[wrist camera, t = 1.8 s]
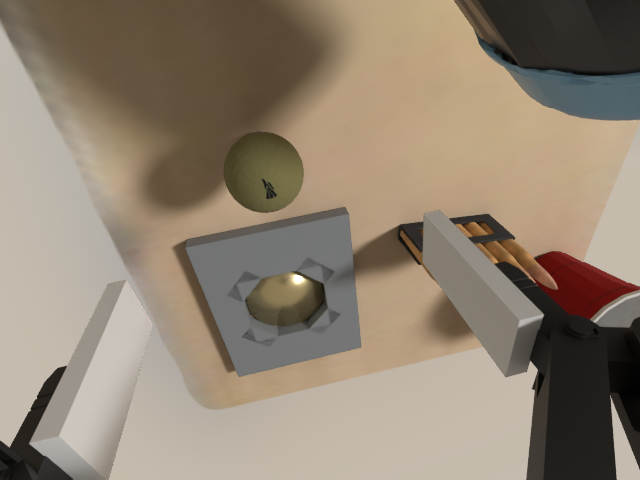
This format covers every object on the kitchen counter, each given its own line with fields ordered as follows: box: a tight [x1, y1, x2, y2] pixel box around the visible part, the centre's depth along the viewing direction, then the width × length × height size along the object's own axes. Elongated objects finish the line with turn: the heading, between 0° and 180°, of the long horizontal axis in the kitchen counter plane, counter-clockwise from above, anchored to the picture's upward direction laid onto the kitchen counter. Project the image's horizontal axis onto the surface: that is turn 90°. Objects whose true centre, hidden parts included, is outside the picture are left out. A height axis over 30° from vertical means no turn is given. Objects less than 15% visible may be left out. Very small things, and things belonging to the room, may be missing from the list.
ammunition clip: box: [398, 214, 558, 290], centre depth 35 cm, size 11×2×12 cm, turn 91°
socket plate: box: [185, 207, 361, 377], centre depth 40 cm, size 20×16×2 cm
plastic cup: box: [529, 251, 640, 328], centre depth 42 cm, size 11×11×12 cm
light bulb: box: [224, 132, 304, 213], centre depth 27 cm, size 6×6×10 cm
